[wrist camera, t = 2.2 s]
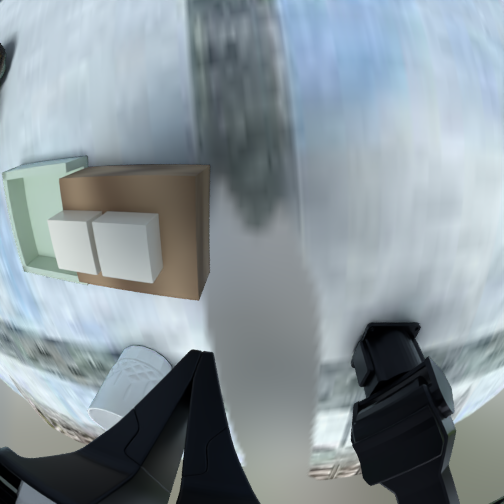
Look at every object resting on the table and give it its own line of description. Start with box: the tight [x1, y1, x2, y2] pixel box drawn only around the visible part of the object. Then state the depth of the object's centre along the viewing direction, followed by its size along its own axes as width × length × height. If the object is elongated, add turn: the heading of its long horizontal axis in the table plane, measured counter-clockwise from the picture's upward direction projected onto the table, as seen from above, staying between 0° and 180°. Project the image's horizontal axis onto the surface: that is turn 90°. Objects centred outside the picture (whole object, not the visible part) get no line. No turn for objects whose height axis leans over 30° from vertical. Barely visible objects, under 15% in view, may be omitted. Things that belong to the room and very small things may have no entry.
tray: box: [2, 156, 88, 285], centre depth 20 cm, size 10×11×3 cm
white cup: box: [87, 345, 172, 431], centre depth 26 cm, size 8×8×10 cm
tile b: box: [47, 210, 102, 275], centre depth 17 cm, size 4×4×2 cm
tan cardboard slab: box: [59, 164, 210, 301], centre depth 19 cm, size 11×9×4 cm
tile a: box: [92, 211, 163, 283], centre depth 17 cm, size 4×4×2 cm
